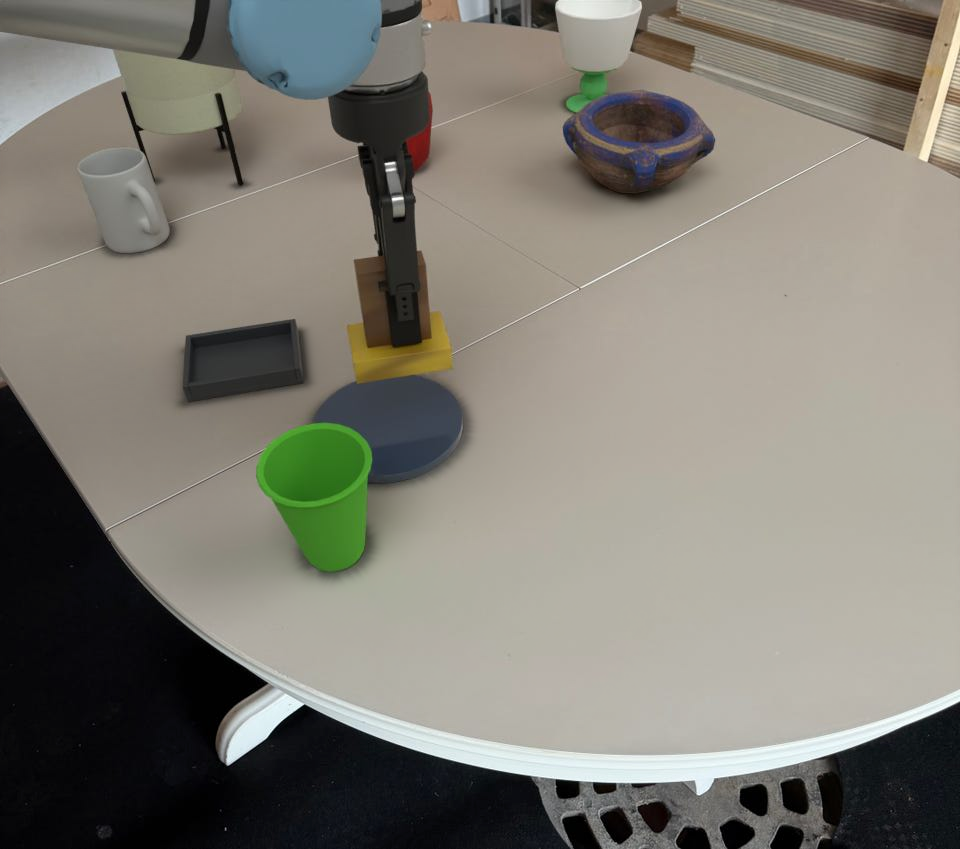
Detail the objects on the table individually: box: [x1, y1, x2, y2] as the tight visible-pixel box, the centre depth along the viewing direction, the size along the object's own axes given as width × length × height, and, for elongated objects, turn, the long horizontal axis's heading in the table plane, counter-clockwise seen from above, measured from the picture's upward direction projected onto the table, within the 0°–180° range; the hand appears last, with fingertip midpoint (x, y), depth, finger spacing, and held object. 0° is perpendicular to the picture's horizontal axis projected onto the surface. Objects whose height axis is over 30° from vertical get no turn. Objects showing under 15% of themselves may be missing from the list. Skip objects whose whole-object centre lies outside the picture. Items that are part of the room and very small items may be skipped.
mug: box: [76, 146, 171, 254], centre depth 107 cm, size 12×8×11 cm
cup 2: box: [554, 0, 643, 114], centre depth 134 cm, size 14×14×16 cm
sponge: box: [346, 249, 453, 384], centre depth 75 cm, size 9×6×10 cm, turn 102°
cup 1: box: [255, 423, 372, 573], centre depth 68 cm, size 9×9×11 cm
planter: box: [112, 49, 244, 187], centre depth 118 cm, size 15×16×23 cm
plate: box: [312, 374, 464, 484], centre depth 82 cm, size 15×15×1 cm
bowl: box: [562, 89, 716, 194], centre depth 116 cm, size 18×18×10 cm
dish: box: [181, 318, 305, 403], centre depth 90 cm, size 12×9×2 cm
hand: (404, 332), depth 76 cm, fingers closed on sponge, 2 cm apart
